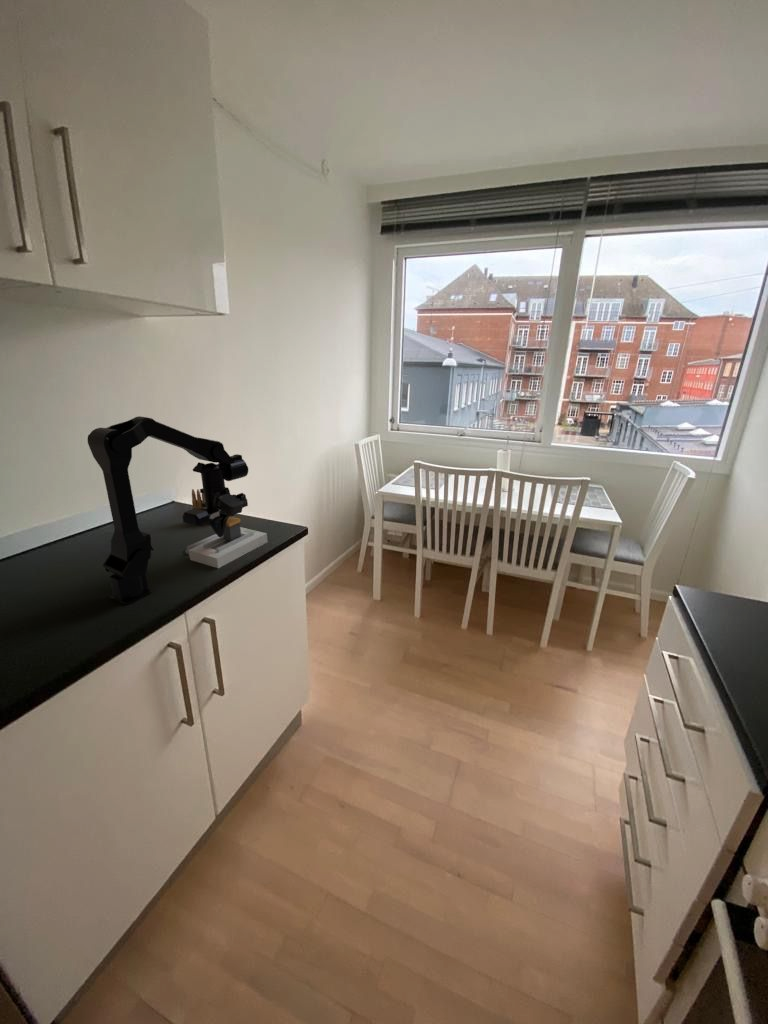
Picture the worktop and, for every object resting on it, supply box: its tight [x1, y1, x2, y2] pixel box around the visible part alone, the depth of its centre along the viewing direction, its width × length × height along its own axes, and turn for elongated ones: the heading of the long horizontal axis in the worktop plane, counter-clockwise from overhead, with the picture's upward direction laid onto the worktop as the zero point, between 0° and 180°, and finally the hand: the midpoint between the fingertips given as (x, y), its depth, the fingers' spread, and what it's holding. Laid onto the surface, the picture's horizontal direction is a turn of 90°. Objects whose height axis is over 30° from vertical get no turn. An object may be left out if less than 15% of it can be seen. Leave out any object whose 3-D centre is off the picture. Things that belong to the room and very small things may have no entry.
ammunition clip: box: [191, 488, 209, 524], centre depth 145 cm, size 11×2×12 cm, turn 88°
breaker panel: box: [188, 526, 268, 569], centre depth 125 cm, size 20×11×4 cm, turn 154°
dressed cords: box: [184, 533, 218, 555], centre depth 130 cm, size 17×3×1 cm, turn 154°
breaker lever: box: [223, 516, 242, 542], centre depth 125 cm, size 4×3×6 cm
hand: (220, 536), depth 121 cm, fingers closed
